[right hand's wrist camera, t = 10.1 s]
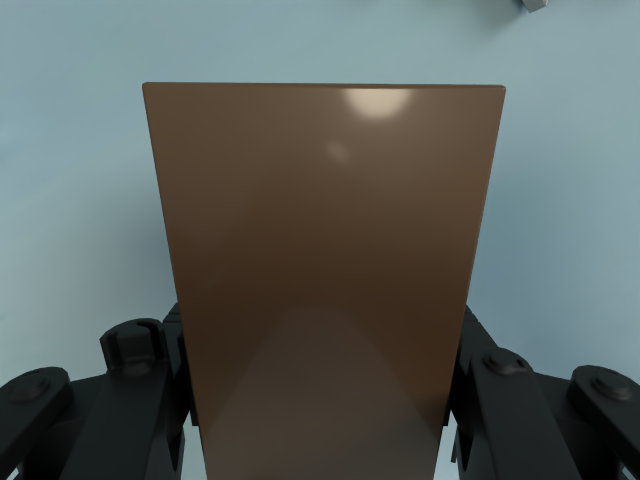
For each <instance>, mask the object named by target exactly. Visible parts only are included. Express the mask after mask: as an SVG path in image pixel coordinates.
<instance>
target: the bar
mask: <svg viewBox="0 0 640 480" xmlns="http://www.w3.org/2000/svg"><path fill="white" fill-rule="evenodd" d="M142 90H143V96H144V102H145V108H146V114H147V120H148V126H149V132H150V138H151V144H152V150H153V156H154V162H155V168H156V174H157V180H158V186H159V192H160V198H161V204H162V210H163V216H164V222H165V228H166V234H167V240H168V246H169V252H170V258H171V264H172V270H173V276H174V282H175V288H176V294H177V300H178V306H179V312H180V318H181V324H182V330H183V336H184V342H185V348H186V354H187V360H188V366H189V372H190V378H191V384H192V390H193V396H194V402H195V408H196V414H197V420H198V426H199V432H200V438H201V444H202V450H203V456H204V462H205V468H206V474H207V480H433V478H434V473H435V467H436V462H437V456H438V451H439V446H440V440H441V435H442V430H443V424H444V419H445V414H446V408H447V403H448V398H449V392H450V387H451V382H452V376H453V371H454V365H455V360H456V355H457V349H458V344H459V339H460V333H461V328H462V323H463V317H464V312H465V307H466V301H467V296H468V291H469V285H470V280H471V274H472V269H473V264H474V258H475V253H476V248H477V242H478V237H479V232H480V226H481V221H482V216H483V210H484V205H485V200H486V194H487V189H488V183H489V178H490V173H491V167H492V162H493V157H494V151H495V146H496V141H497V135H498V130H499V125H500V119H501V114H502V109H503V103H504V98H505V92H506V87H505V86H503V85H456V84H328V83H201V82H146V83H143V84H142Z"/></svg>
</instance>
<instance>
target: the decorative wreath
mask: <svg viewBox="0 0 640 480" xmlns="http://www.w3.org/2000/svg"><path fill="white" fill-rule="evenodd" d="M522 1H523V3H524V5H525V7H526V8H527V10H528V12H529V13H531V12H533V11H536V10H538V9H540V8H543V7H545V6H546V4H547V1H548V0H522Z"/></svg>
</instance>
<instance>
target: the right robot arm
mask: <svg viewBox="0 0 640 480" xmlns="http://www.w3.org/2000/svg"><path fill="white" fill-rule="evenodd" d="M99 340H100V343H101V347H102V351H103V354H104V358H105V362H106V365H107V369H108V370H107V372H106V374H103V375H99V376H95V377H90V378H86V379H81V380H76V381H72V382H70V379H69V376H68V373H67V372H66V371H65V370H64V369H63V368H59V367H45V368H39V369H35V370H33V371H29V372H26V373H24V374H22V375H20V376H18V377H16V378H14V379H12V380H10V381H9V382H8V383H6V384H5V385H3V386H2V387H1V388H0V480H6V479H7V478H8V477H9V476H10V474H11V473H12V472H13V471H14V470H15V468H16V467H17V469H18V472H19V473H18V474H17V476H16V477H15V478H14V479H13V480H181V471H182V463H183V454H184V445H185V436H184V430H183V424H184V422H185V420H186V417H187V415H188V413H189V410H190V415H191V421H192V426H198V420H197V414H196V408H195V402H194V396H193V390H192V384H191V378H190V372H189V366H188V360H187V354H186V348H185V342H184V336H183V330H182V324H181V318H180V312H179V306H178V302H177V303H176V304H175V305H174V306H173V308H172V309H171V310H170V312H169V315H167V316H166V317H165V318H164V320H163V323H161V322H160V321H159V320H156V319H152V318H139V319H134V320H130V321H126V322H124V323H121V324H119V325H116V326H114V327H113V328H111V329H110V330H108V331H107V332H105V333H104V335H103V336H102V337H101V338H100V339H99ZM450 411H452V413H453V415H454V417H455V420H456V422H457V430H456V435H455V440H454V445H453V451H452V457H451V462H453V463H456V458H457V462H458V471H459V479H460V480H629V479H628V478H627V477H626V476H625V475H624V473H623V472H622V470H623V468H624V466H625V467H626V468H627V469H628V470H629V471H630V473H631V474H632V475H633V476H634V477H635V479H636V480H640V385H638V384H637V383H635V382H634V381H633V380H631V379H630V378H628V377H626V376H624V375H622V374H620V373H618V372H616V371H614V370H611V369H608V368H604V367H599V366H592V365H585V366H579V367H577V368H576V369H575V370H574V371H573V374H572V377H571V380H566V379H562V378H557V377H552V376H548V375H543V374H539V373H536V372H534V371H533V369H532V368H531V366H530V365H529V364H528V362H527V361H526V360H524V359H523V358H522V357H520V356H519V355H518V354H516V353H514V352H511V351H509V350H507V349H504V348H500V347H498V346H497V345H496V343H495V342H494V341H493V339H492V338H491V337H490V335H489V334H488V333H487V331H486V330H485V329H484V327H483V326H482V325H481V323H480V322H478V319H477V318H476V317H475V315H474V314H472V311H471V310H470V309H469V307H468V306H467V305H466V307H465V312H464V317H463V323H462V328H461V333H460V339H459V344H458V349H457V355H456V360H455V365H454V371H453V376H452V382H451V387H450V392H449V398H448V403H447V408H446V414H445V419H444V424H443V426H448V422H449V416H450Z"/></svg>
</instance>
